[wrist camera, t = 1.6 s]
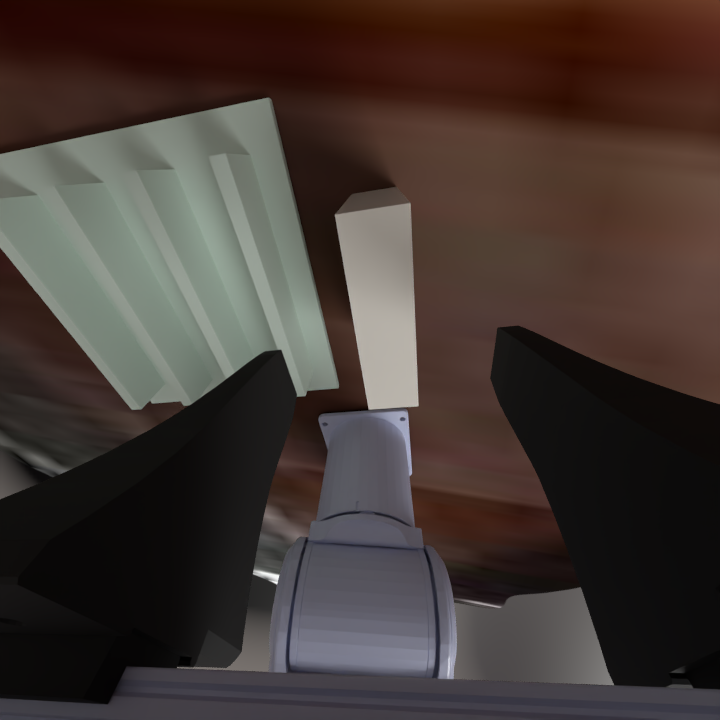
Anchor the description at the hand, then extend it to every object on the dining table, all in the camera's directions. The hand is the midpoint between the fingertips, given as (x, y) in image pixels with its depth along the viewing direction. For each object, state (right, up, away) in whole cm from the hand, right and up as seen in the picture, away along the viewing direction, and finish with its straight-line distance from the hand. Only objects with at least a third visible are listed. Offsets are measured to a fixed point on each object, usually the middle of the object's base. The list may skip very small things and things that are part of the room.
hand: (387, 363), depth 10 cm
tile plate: (+1, +6, +9) cm, 10 cm away
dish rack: (-12, +5, +10) cm, 17 cm away
